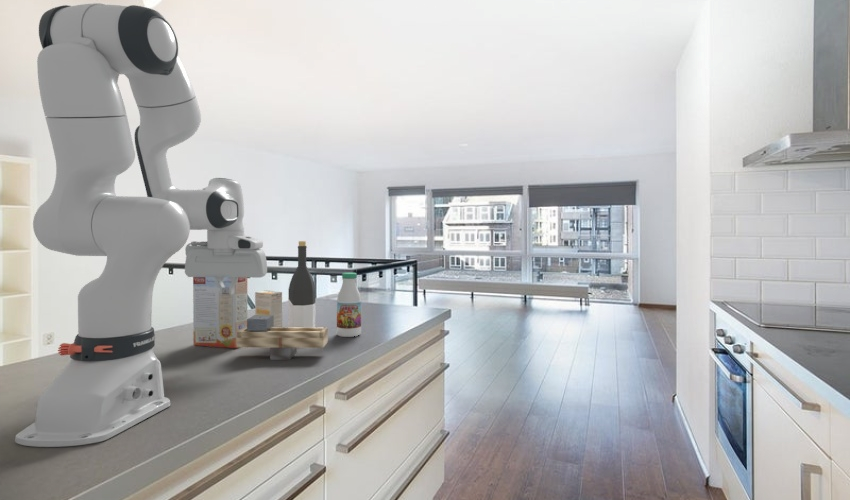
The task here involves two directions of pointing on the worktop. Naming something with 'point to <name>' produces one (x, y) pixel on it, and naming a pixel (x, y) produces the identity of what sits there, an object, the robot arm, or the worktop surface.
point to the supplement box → (269, 305)
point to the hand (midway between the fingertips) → (226, 294)
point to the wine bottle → (301, 293)
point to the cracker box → (218, 312)
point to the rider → (260, 323)
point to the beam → (284, 340)
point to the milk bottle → (349, 307)
